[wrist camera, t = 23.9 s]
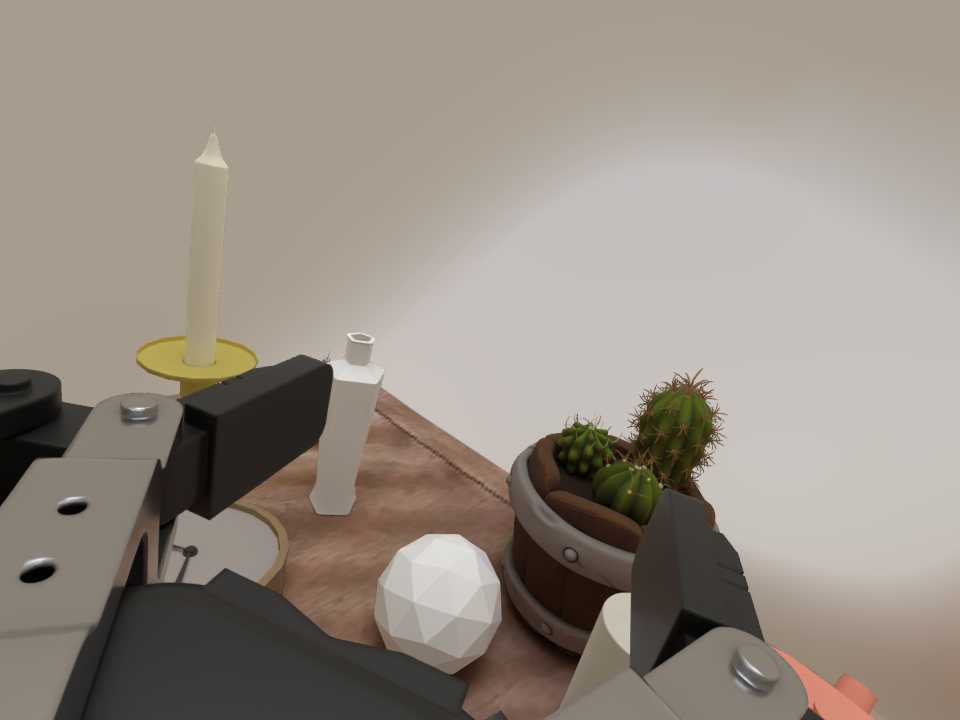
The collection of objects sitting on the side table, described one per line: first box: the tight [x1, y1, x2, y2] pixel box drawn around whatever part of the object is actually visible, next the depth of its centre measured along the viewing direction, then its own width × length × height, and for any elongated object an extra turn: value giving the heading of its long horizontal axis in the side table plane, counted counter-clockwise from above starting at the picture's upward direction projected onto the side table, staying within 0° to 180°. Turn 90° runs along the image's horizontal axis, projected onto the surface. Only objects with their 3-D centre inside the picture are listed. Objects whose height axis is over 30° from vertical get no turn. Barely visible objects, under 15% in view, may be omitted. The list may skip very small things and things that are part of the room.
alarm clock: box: [164, 500, 289, 594], centre depth 29 cm, size 11×5×15 cm
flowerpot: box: [500, 369, 727, 656], centre depth 35 cm, size 14×15×20 cm
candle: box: [136, 126, 258, 398], centre depth 39 cm, size 10×10×27 cm
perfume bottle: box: [309, 333, 385, 515], centre depth 40 cm, size 5×4×15 cm
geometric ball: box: [374, 534, 502, 674], centre depth 31 cm, size 8×8×8 cm
